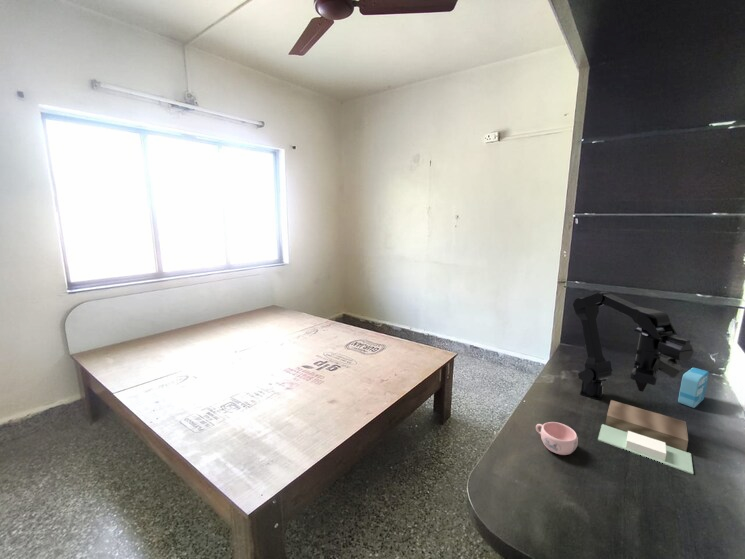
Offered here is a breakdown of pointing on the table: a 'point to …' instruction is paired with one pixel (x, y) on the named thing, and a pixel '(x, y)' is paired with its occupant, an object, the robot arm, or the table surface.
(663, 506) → the table surface
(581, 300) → the robot arm
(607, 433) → the mat
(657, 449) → the tile
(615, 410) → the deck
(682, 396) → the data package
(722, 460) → the table surface
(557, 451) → the mug
